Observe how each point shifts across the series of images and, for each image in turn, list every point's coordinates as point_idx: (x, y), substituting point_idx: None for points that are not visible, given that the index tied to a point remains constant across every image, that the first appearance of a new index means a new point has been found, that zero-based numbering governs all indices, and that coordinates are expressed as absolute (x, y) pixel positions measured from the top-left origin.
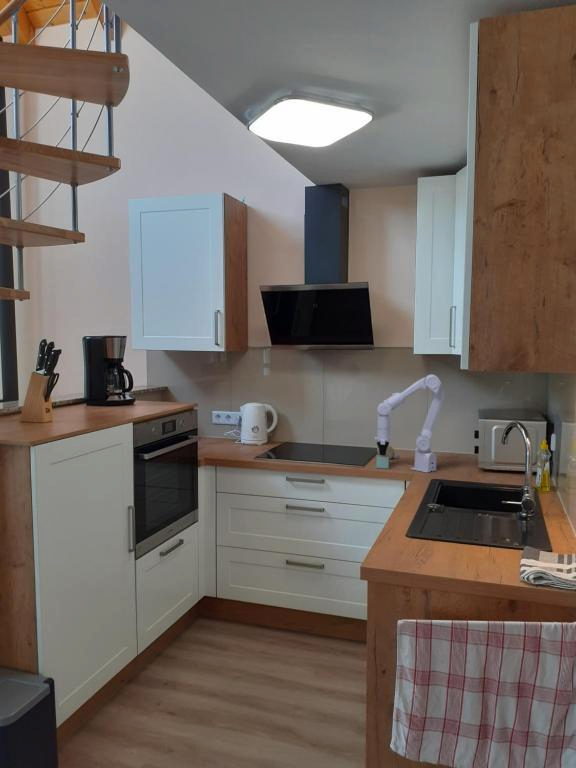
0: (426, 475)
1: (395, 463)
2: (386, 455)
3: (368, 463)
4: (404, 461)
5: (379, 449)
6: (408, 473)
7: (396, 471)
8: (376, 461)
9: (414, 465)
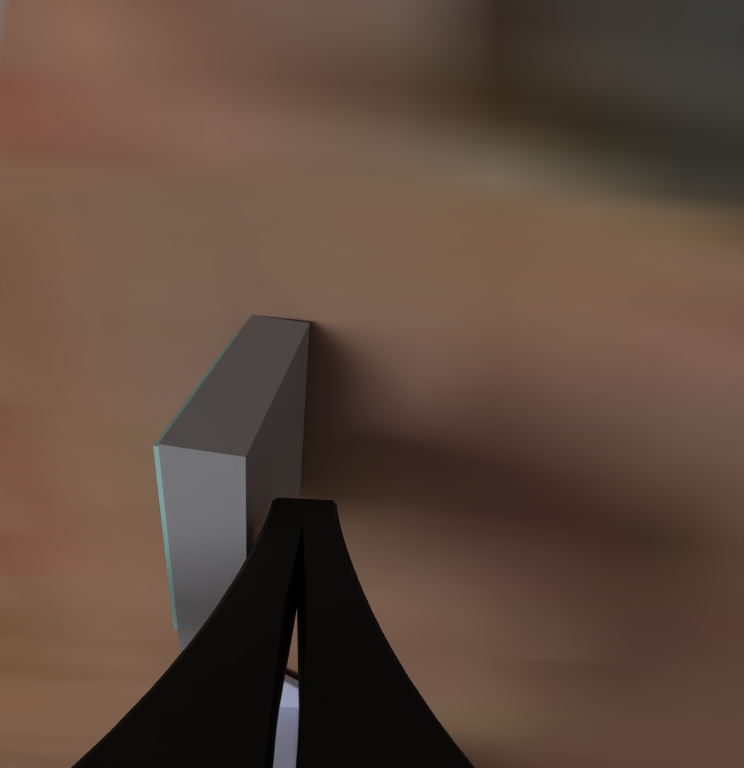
0: (31, 748)
1: (613, 567)
2: None
3: (667, 216)
4: (711, 644)
5: (188, 649)
6: (55, 643)
7: (118, 552)
8: (210, 385)
9: (290, 736)
